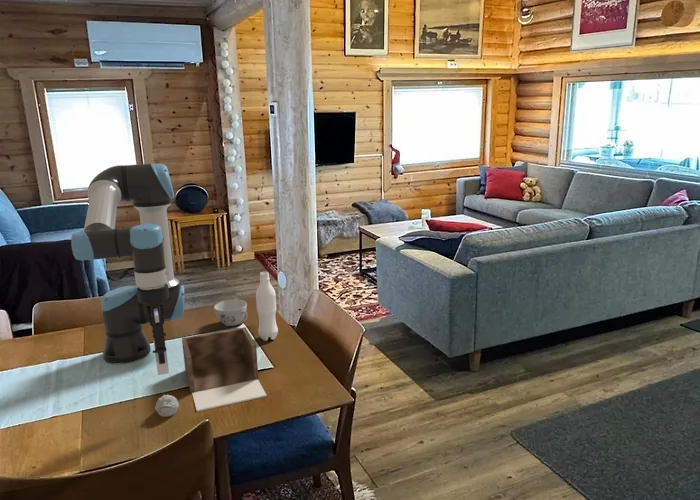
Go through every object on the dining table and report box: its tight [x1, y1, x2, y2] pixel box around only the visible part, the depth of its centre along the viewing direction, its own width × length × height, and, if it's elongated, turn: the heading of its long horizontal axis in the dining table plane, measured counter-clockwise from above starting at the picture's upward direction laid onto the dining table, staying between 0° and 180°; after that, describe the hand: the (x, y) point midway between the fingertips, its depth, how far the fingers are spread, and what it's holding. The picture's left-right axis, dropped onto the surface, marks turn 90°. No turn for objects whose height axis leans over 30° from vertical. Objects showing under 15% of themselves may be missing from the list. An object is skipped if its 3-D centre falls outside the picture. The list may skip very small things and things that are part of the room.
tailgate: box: [191, 379, 268, 413], centre depth 153 cm, size 19×2×11 cm
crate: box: [181, 327, 259, 394], centre depth 164 cm, size 20×15×12 cm
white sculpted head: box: [154, 394, 180, 418], centre depth 144 cm, size 6×7×7 cm
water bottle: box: [255, 271, 279, 342], centre depth 192 cm, size 7×7×25 cm
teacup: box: [213, 298, 248, 327], centre depth 207 cm, size 15×12×8 cm
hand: (162, 366), depth 141 cm, fingers open, 7 cm apart
